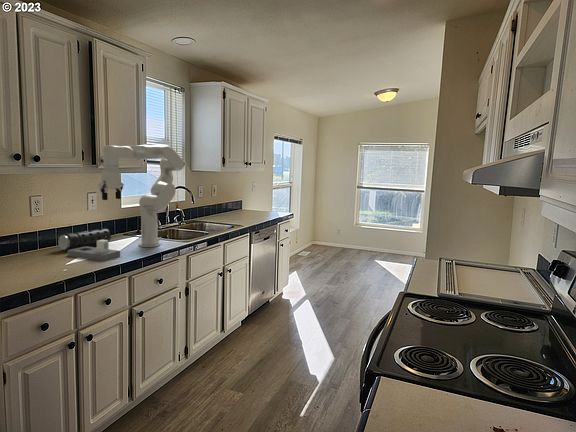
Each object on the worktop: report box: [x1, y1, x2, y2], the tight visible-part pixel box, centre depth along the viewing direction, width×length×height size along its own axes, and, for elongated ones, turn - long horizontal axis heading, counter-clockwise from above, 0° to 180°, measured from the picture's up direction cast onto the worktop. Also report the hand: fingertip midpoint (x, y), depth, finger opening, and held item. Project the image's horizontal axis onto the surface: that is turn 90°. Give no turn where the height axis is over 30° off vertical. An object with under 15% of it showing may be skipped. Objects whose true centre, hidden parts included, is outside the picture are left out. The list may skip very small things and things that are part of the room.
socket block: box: [66, 246, 121, 262], centre depth 206 cm, size 12×24×4 cm, turn 70°
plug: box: [96, 240, 110, 253], centre depth 204 cm, size 4×5×9 cm
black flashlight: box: [57, 228, 112, 251], centre depth 226 cm, size 10×28×10 cm, turn 154°
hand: (111, 199), depth 214 cm, fingers open, 9 cm apart
